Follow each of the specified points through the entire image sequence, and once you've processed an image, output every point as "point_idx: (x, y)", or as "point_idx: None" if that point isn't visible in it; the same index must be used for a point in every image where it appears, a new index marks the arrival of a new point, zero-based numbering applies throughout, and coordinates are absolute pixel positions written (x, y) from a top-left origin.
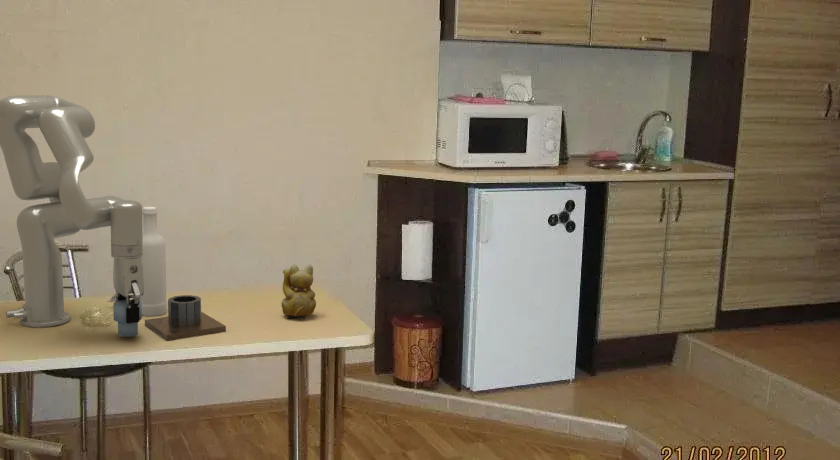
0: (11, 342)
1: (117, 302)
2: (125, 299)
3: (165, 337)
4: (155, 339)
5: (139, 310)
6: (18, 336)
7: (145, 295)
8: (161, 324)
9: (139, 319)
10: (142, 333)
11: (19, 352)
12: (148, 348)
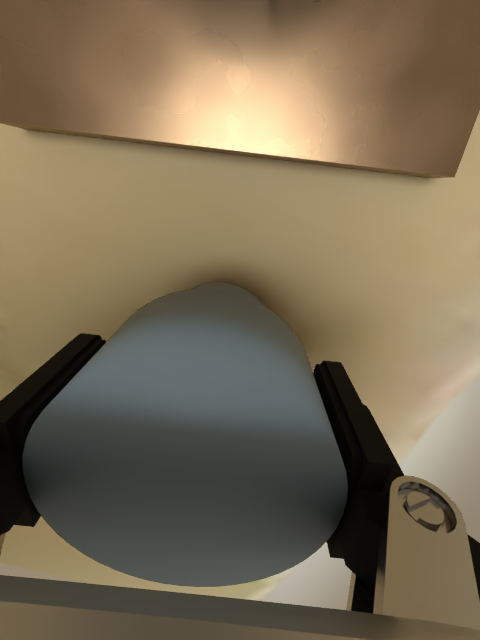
0: (72, 573)
1: (105, 545)
2: (12, 464)
3: (415, 175)
4: (347, 221)
5: (318, 393)
6: (17, 550)
7: None
8: (175, 60)
9: (343, 368)
10: (190, 227)
11: (177, 587)
12: (453, 324)
